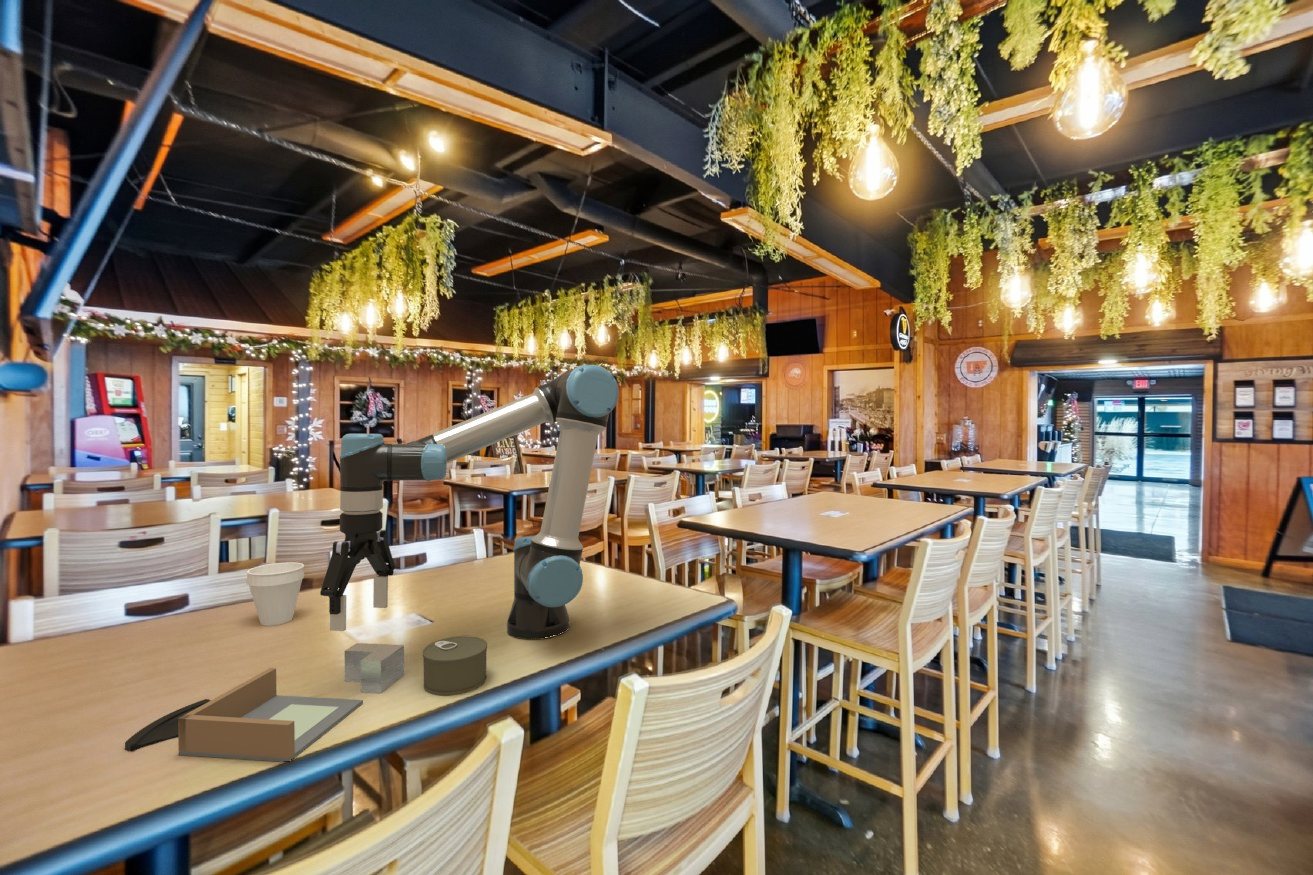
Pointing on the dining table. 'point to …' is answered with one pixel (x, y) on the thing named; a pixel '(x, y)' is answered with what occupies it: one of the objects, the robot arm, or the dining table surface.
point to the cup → (275, 591)
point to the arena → (259, 722)
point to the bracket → (374, 665)
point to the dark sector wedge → (160, 728)
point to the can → (454, 665)
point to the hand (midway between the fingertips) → (360, 618)
